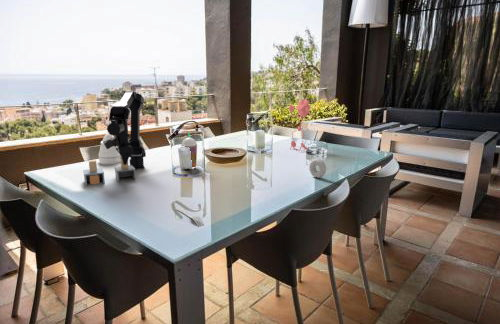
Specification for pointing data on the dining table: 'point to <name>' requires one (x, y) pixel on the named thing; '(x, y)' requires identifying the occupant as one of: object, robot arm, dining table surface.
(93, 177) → the letter cube
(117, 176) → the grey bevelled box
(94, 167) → the blue-grey and tan block
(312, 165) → the donut
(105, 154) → the honey pot
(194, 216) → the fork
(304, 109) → the figurine
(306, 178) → the dining table surface
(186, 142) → the smoothie
